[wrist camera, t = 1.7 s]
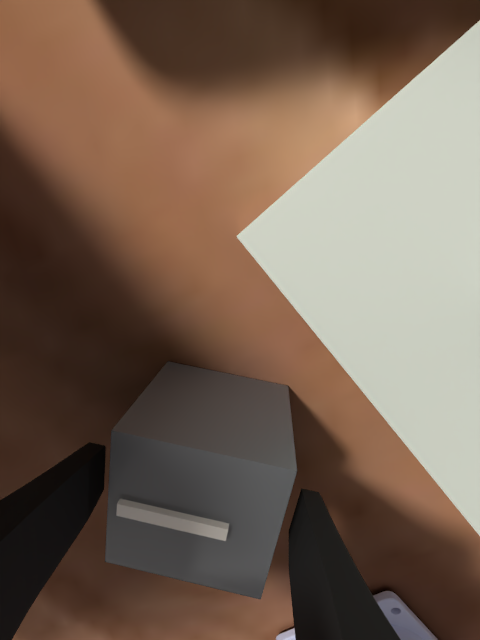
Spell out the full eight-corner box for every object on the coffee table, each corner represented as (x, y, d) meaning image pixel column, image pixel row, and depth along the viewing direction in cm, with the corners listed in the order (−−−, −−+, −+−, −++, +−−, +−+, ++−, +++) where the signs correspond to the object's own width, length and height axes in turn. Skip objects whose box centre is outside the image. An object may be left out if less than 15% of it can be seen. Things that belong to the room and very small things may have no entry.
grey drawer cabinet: (287, 385, 13) (297, 476, 8) (264, 482, 15) (260, 606, 10) (167, 361, 14) (107, 434, 9) (157, 458, 15) (102, 567, 10)
